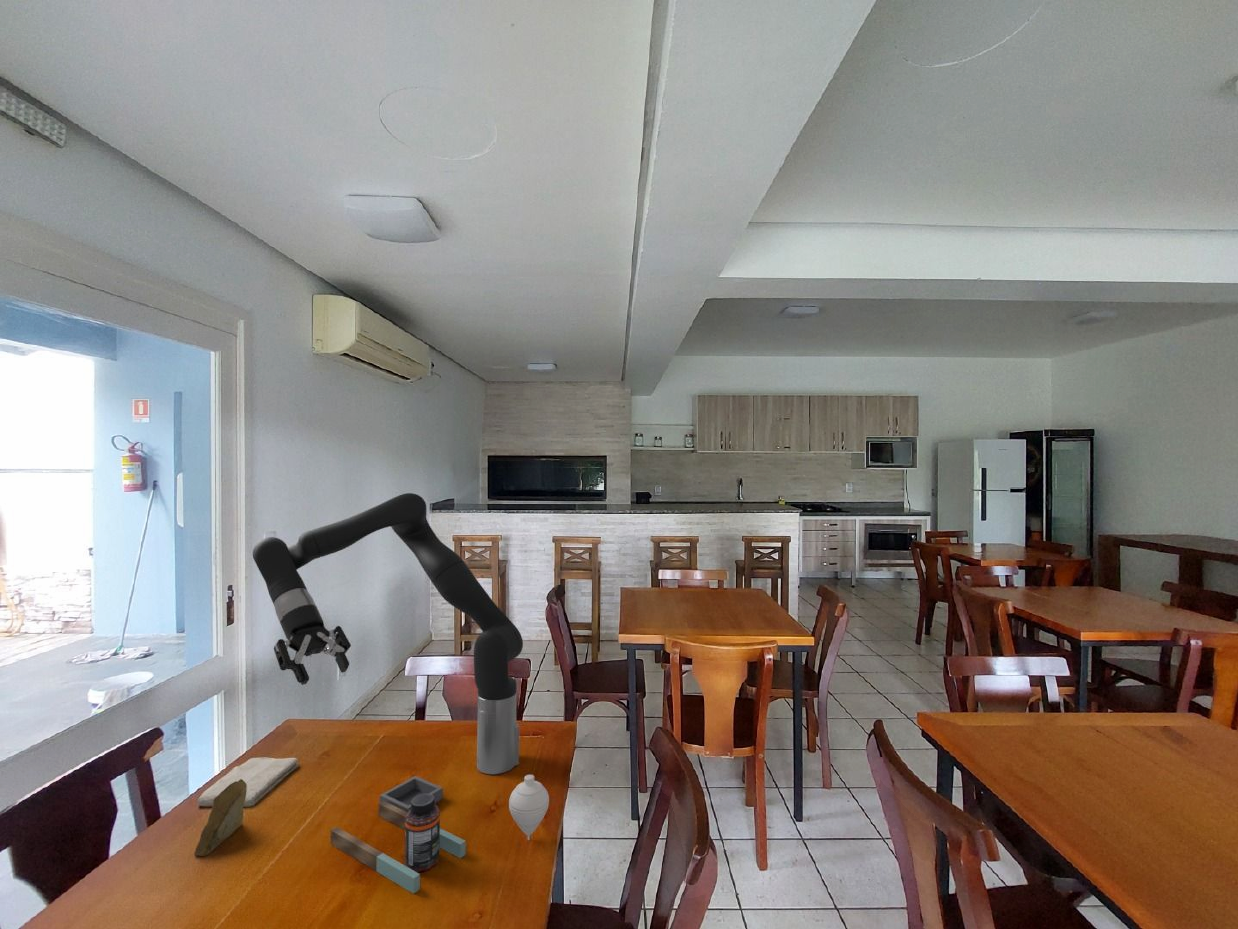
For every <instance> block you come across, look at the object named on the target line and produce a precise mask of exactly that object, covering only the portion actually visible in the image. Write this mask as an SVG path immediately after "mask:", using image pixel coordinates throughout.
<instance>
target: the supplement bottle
mask: <svg viewBox="0 0 1238 929" xmlns="http://www.w3.org/2000/svg"><path fill="white" fill-rule="evenodd" d="M434 804H435V802H434V796H433V795H432V794H429V793H424V794H419V795H417V796H415V797H414V798H413V799H412V801H411V809H410V810H409V811H408V813H407V815H406V818H405V829H404V864H405V866H406V867H408V868H410V869H412V870H413V871H415V872H417V873H418V872H424V871H427V870H430V869H431V868H433V867H434V866H435V865H436V864H437V863H438V861H439V859H440V849H441V848H440V829H441V825H440V824H441V823H440V822H441V814H440V813H441V812H440V808H439V807H438V806H437V805H436V804H435V805H434Z"/></svg>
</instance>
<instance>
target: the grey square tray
mask: <svg viewBox="0 0 1238 929" xmlns="http://www.w3.org/2000/svg"><path fill="white" fill-rule="evenodd" d="M443 792H444V787H442V786H440V785H437V784H435V783H432V782H431V781H428V780H426V779H423V778H421V777H419V776H416V775H414V776H413V777H411V778H409V779H407V780H405V781H404V782H402V783H400V784H398V785H395V786H394V787H392V788H391V789H388V790H387V791H385V792H383V793H381V794H379V803H381V802H383V801H385V802H387V803H389V804H392V805H394V806H396V807H398V808H400V809H402V810H404V811H406V812H408V811H409V810H410V809H411V801H412V799H413V798H414V797H415V796H417V795H419V794H424V793H429V794H432V795H433V796H434V802H435V804H434V805H436V804H438V803H439V802H441V801H442V800H443V798H444V797H443V796H444V793H443Z"/></svg>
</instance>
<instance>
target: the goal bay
mask: <svg viewBox="0 0 1238 929" xmlns="http://www.w3.org/2000/svg"><path fill="white" fill-rule="evenodd" d="M466 845H467V844H466V840H465V839H462V838H461V837H458V836H456V835H454V834H453V833H450V832H448V831H446V830H444V829H442V828H440V848H439V849H441V850H444V851H446V852H448V853H449V854H451V855H453V856H455V857H456V858H459V859H461V858H464V857H465V855H466V849H467V848H466V847H467V846H466ZM375 872H376V873H378V874H380V875H382V876H384V877H385V878H387V879H388V880H390V881H391V882H393V883H396V884H397V885H398V886H399V887H401V888H404V889H405V890H406V891H409V892H410V893H412V894H415V893H417V892H418V891H420V887H421V886H420V880H421V873H418V872H415V871H413V870H412V869H410V868H408V867H406V865H404V864H402V863H401V862H399V861H398V860H395V859H394V858H393V857H391V856H389V855H387V854H385V853H383V852H382V854H380V855H379V856H377V864H376V871H375Z"/></svg>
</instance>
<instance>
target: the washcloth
mask: <svg viewBox="0 0 1238 929" xmlns="http://www.w3.org/2000/svg"><path fill="white" fill-rule="evenodd" d="M298 761H299V759H298V758H296V757H285V758H272V757H268V756H266V757H265V756H263V757H252V758H249V759H248V760H246V761H245V762H244V763H242V764H241V765H237V766H236V765H235V766H234V767H233V768H232V769H231V770H230V771H229V772H228V773H227V774H225V775H224V776H222V777H221V778H219V779H218V780H217V781H216V782H215V783H214V784H212V785H211V786H210V787H208V788H207V789H205V790H204V791H203V793H201V795H200V797H198V799H197V802H196V803H197V805H198V806H201V807H203V808H204V807H209V808H212V807H213V800H214V798H215V797H217V796H218V795H219V794H220V793H221V792H222V791H223V790H224V789H225V788H226V787H228V786H229V785H230V784H232V783H233V782H235V781H239V780H240V779H242V780H243V781H244V782H245V783H246V784H247V792H246V798H245V802H244V807H245V808H247V807H248V808H250V807H253V806H255V805H256V803H258V802H259V801H260V800H261V799H262V798H264V797H265V795H266V794H268V793H269V792H270V791H272V790H273V788H275V787H276V786H277V785H278V784H279V783H280V782H281V781H283V780H284V779H285V777H287V776H288V775H290V773H292V772H293V771H294V770H296V769H297V768H298V766H299V765H298Z"/></svg>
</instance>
